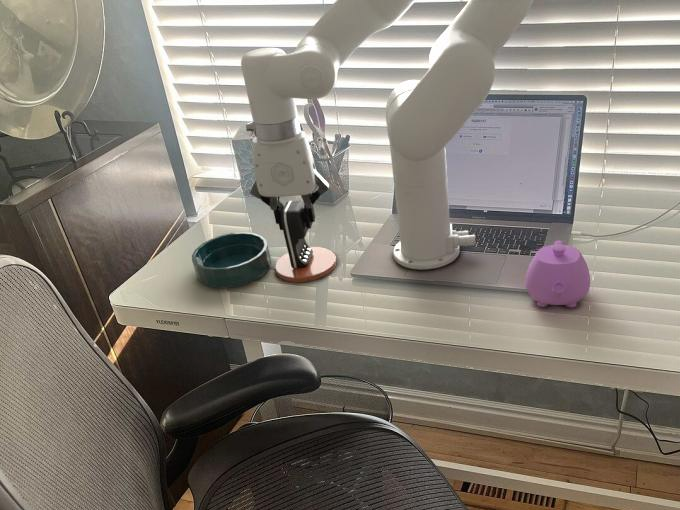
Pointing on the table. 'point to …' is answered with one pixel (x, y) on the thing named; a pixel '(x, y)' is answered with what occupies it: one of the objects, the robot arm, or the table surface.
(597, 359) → the table surface
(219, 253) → the bowl
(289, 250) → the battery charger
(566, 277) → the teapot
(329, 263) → the plate
